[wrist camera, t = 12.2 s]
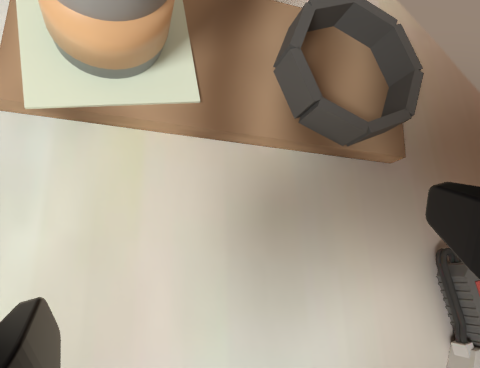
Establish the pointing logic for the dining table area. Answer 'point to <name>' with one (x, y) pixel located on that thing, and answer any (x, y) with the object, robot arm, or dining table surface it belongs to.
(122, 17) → the two-tone cylinder
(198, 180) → the dining table surface
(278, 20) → the walnut board
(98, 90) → the sage pad
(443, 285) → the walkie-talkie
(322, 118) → the grey octagonal ring
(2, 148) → the dining table surface
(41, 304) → the robot arm
